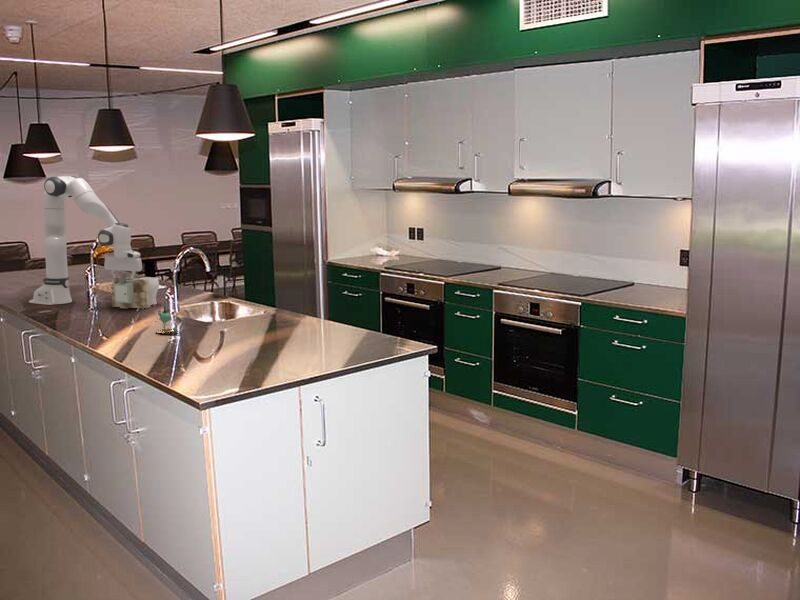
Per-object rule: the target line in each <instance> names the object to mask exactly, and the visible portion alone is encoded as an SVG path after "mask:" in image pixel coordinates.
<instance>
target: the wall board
mask: <svg viewBox="0 0 800 600" xmlns="http://www.w3.org/2000/svg"><path fill="white" fill-rule="evenodd" d="M111 279H112V280H111V281H112V291H111V300H112V303H111V305H112V308H113V307H120V308H119V309H128V308H145V307H149V306H151V305H149V284H148V279H140V278H134V279H133V280H135V283H133V287H134V301H133V302H131V303H116V302H115V294H114V284H116V283H119V280H121V277H117V279H114V278H113V277H112V278H111ZM126 280H132V279H130V277H129V278H128V277H126ZM151 307H152V306H151Z"/></svg>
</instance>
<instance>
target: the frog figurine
mask: <svg viewBox="0 0 800 600" xmlns="http://www.w3.org/2000/svg"><path fill="white" fill-rule="evenodd" d="M170 312H171V311H170V310H169V309H167V305H166V304H164V305H163V311H162V312H161V310H159V311H157V316H156V320H155V321H154V323H157V322H159V321H161V323H162V324H163V325H162V327H163V328H162V332H163V331H164V332H169V333H168V334H172V333H173V334H174V333H176V332H179V330H178V329H177V326H174V327H173V330H174V331H175V332H174V331H170V330H172V329H169V327H166V326H168V324H167V323H168V322H169V321H170V320H171V323H170V325H175V320H174V318H172V317H171V314H170ZM165 328H167V329H165ZM157 330H158V331H159V329H157ZM160 331H161V330H160ZM162 332H161V333H162ZM170 332H172V333H170ZM162 334H163V333H162Z"/></svg>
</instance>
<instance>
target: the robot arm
mask: <svg viewBox="0 0 800 600" xmlns="http://www.w3.org/2000/svg"><path fill="white" fill-rule="evenodd" d="M43 187H44V192H43V194H42V217H43V230H44V231H43V232H44V258H45V276H46V277H44V278H42V279H41V281H42V282H43V284H42V285H40V286H39V287H38V288H37V289H36V290H34V292H33V297H32V299H29V300H28V303H30V304H37V305H47V306H48V305H49V306H51V305H52V306H53V305H63V304H69V303H72V302H73V299H72V296H71V291H70V278H69V272H68V271H69V270H68V267H69V266H68V252H67V251H68V250H67V249H68V248H67V233H66V231H67V229H66V228H67V227H66V211H65V208H66V207H65V200H66V198H67V197H68V198H73V200H74V202H75V204H76V205H77V207H78V209H80V210H81V211H82V212H83V213H86V214H89V215H94V216H96V217H98V218H100V219H102V220H103V222H104V223H105V225H107V228H104V229H101V230H100V231H99V232H98V234H97V240H98V243H99V244H100V245H101V246H103V247H113V252H107V253H105V254H104V262H103V263H104V264H103V265H104V266H103V267H104V268H103V269H104V270H106V271H110V273H111V274H112V276H113V277H112V278H114V279H117V278H118V275H117V274H116V273H115V272H116V271H120V272H121V271H122V272H131V275H130V276H129V278H130V279H132V280H133V279H135V276H136V273H137V272H142V270H143V263H142V258H141V253H140V252H138V251H136V250H133V249H132V246H131V241H132V235H131V227H130V226H129V225H128V224H127V223H124V222H122V223H121V222H120V221H119V220H118V219H117V217H116V216H115V215H114V214H113V211H111V209H110V208H109V207H108V206H107V205H106V204H105V203H104V202H103V201H101V199H100V198H99V197H98V196H97V194H96V193H95V191H94V190H93V188H92V186H91V185H90V184H89V183H88V182H87V181H86V180H85V179H84V178H82V177H77V176H74V175H73V176H69V175H62V176H61V175H60V176H51V177H48V178H47V179H46V180H45V181H44V184H43Z"/></svg>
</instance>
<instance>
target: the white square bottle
mask: <svg viewBox="0 0 800 600" xmlns="http://www.w3.org/2000/svg"><path fill="white" fill-rule="evenodd" d="M119 275H120V278H121V280H119V283H116V284H114V294H115V302H116V303H131V302H133V301H134V287H133V283H135V280H126V278H127V274H126V273H122V274H119Z"/></svg>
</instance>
